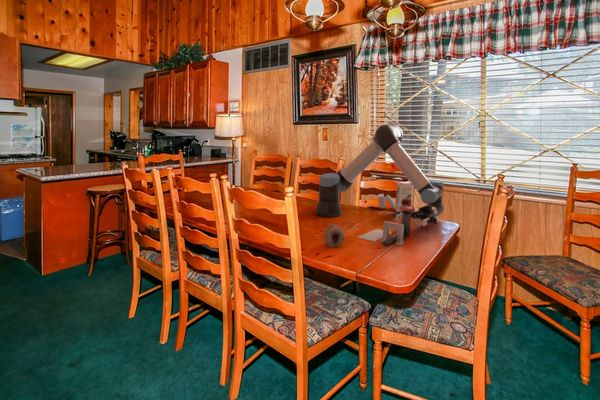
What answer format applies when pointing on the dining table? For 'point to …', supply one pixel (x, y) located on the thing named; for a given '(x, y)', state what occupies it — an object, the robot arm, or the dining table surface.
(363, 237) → the pad
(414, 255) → the dining table surface
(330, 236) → the grey round lumpy ball
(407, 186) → the juice carton
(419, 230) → the dining table surface
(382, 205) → the wall hook
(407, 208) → the hook
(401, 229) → the grey u-shaped bracket
